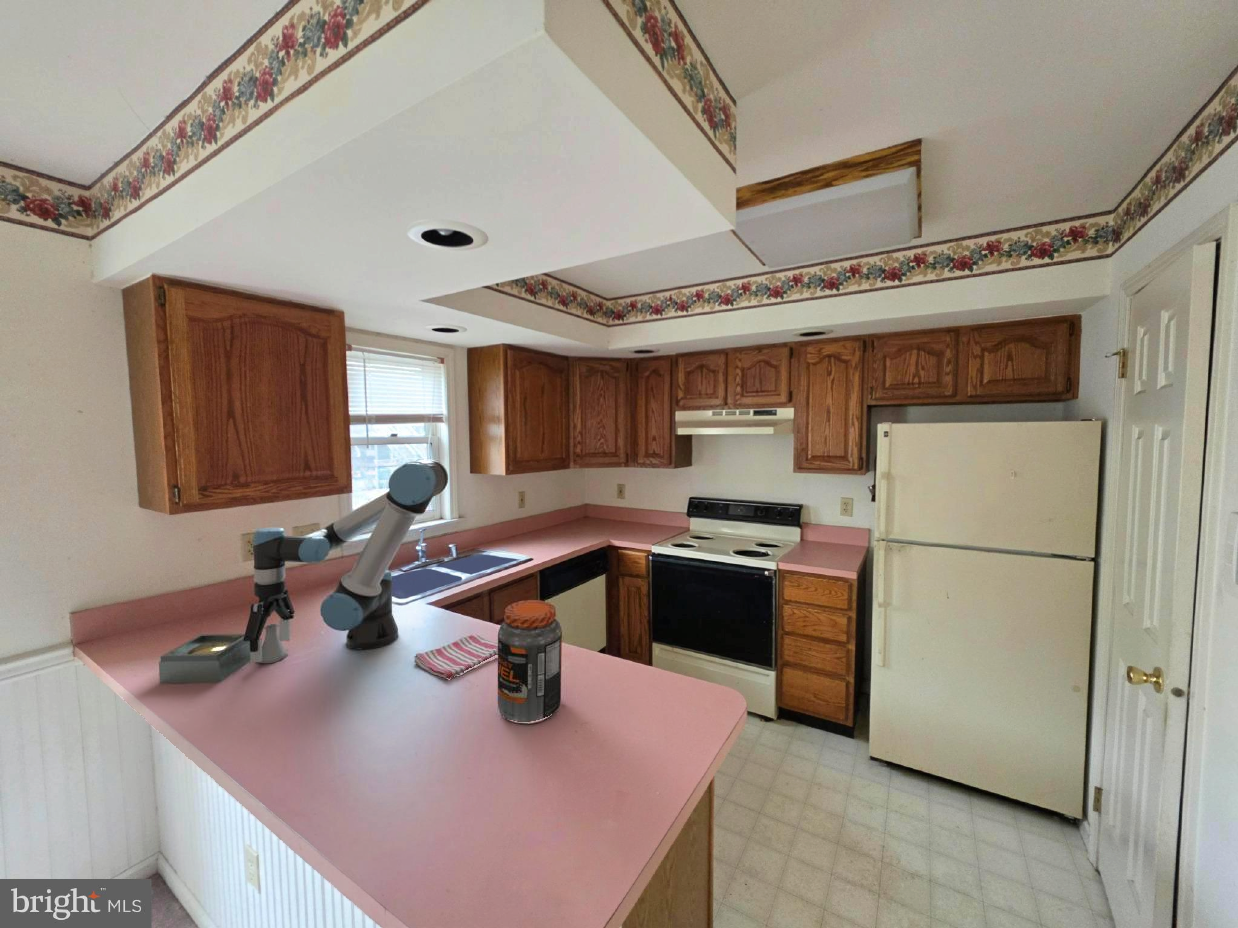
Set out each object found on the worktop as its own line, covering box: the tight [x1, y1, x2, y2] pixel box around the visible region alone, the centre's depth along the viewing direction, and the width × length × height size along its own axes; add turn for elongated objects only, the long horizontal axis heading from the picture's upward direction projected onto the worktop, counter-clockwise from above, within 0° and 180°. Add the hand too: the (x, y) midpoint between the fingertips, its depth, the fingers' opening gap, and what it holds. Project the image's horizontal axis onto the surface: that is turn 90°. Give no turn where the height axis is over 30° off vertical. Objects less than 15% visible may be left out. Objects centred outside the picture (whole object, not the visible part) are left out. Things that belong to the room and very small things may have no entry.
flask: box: [259, 623, 288, 664], centre depth 145 cm, size 7×7×10 cm
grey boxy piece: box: [158, 633, 250, 685], centre depth 137 cm, size 15×14×8 cm
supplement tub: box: [497, 599, 563, 722], centre depth 122 cm, size 16×16×26 cm
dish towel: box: [413, 634, 498, 680], centre depth 148 cm, size 17×23×4 cm
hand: (271, 650), depth 145 cm, fingers open, 13 cm apart
